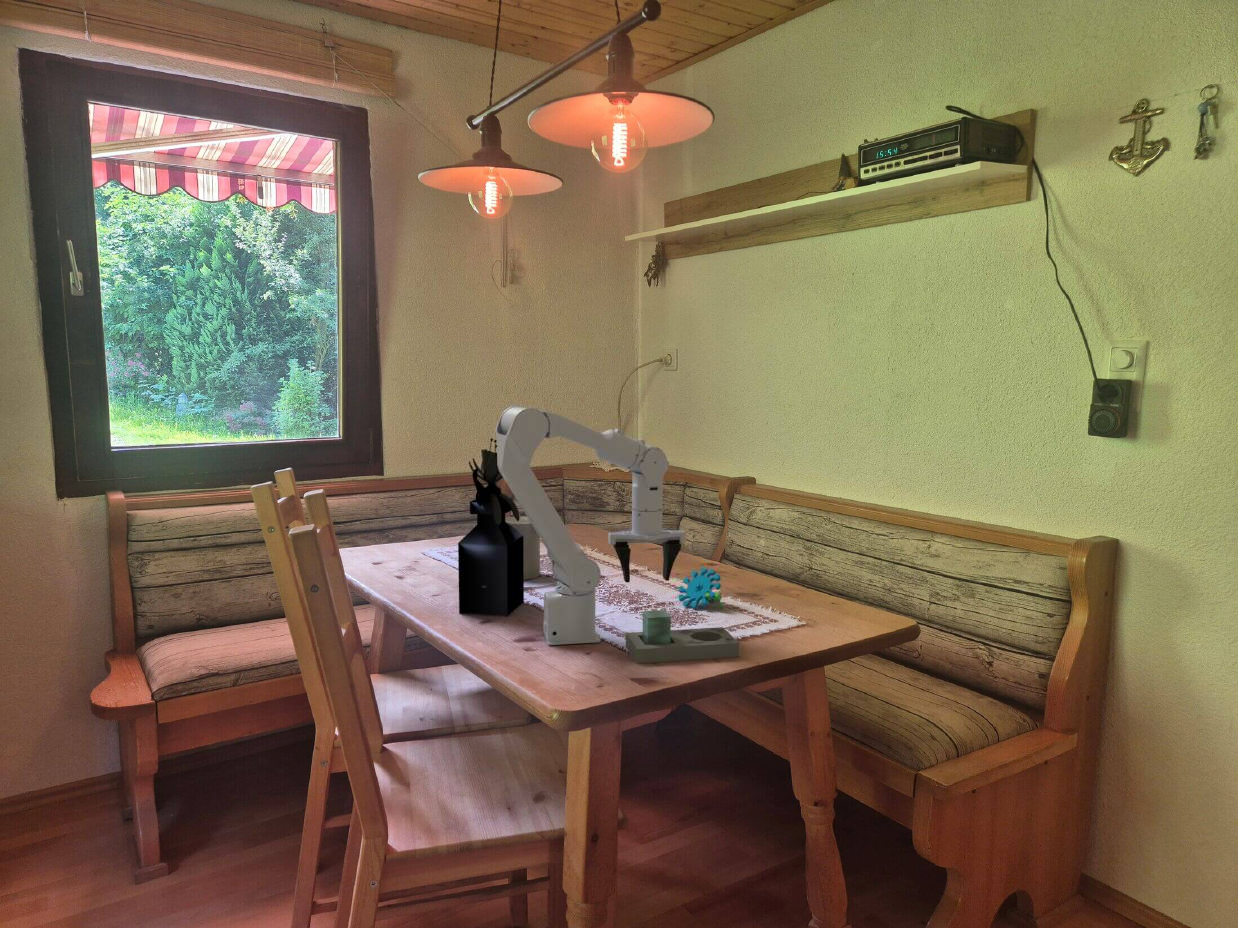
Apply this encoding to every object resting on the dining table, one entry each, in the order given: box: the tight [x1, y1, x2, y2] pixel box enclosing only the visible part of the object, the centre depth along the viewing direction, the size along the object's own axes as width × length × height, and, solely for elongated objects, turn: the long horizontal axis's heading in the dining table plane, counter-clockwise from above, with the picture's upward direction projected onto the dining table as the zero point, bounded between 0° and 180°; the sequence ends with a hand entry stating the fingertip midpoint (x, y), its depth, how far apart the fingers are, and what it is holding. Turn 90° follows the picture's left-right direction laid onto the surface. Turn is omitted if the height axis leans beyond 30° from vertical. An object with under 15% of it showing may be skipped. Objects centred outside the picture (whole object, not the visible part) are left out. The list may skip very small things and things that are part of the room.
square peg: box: [642, 609, 672, 645], centre depth 143 cm, size 4×4×7 cm
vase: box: [457, 438, 525, 618], centre depth 168 cm, size 14×12×35 cm
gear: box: [678, 567, 725, 610], centre depth 174 cm, size 11×6×10 cm
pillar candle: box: [505, 513, 541, 581], centre depth 198 cm, size 10×10×15 cm
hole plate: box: [625, 626, 740, 665], centre depth 144 cm, size 18×9×2 cm, turn 102°
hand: (646, 580), depth 157 cm, fingers open, 7 cm apart
